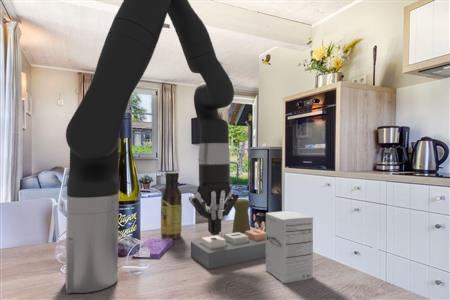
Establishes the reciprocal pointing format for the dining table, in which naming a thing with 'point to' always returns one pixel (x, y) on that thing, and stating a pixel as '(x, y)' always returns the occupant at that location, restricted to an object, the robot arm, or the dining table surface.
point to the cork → (241, 216)
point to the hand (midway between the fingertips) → (214, 234)
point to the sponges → (157, 246)
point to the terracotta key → (256, 235)
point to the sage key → (236, 238)
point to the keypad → (228, 253)
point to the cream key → (213, 242)
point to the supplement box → (289, 246)
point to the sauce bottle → (171, 207)
